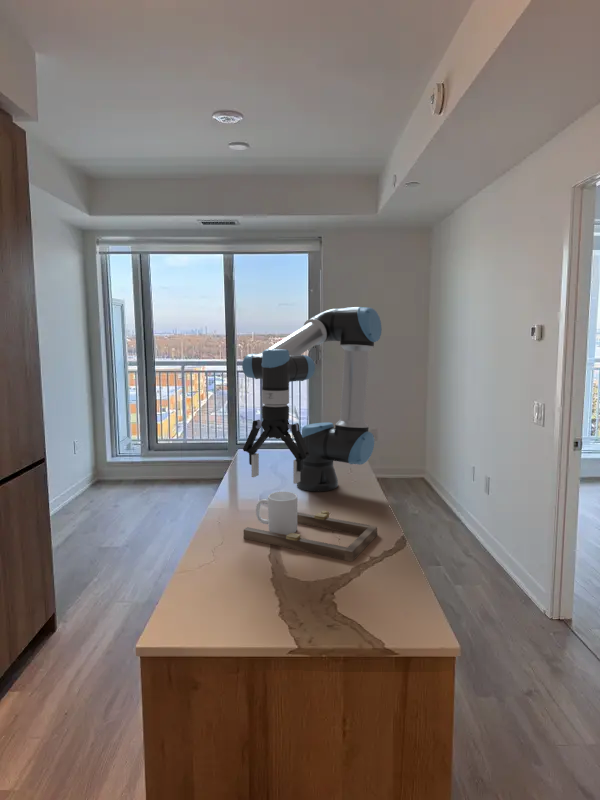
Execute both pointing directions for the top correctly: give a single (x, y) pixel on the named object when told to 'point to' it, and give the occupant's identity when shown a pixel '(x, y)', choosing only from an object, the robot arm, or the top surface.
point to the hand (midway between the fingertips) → (275, 479)
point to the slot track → (316, 547)
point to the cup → (280, 512)
